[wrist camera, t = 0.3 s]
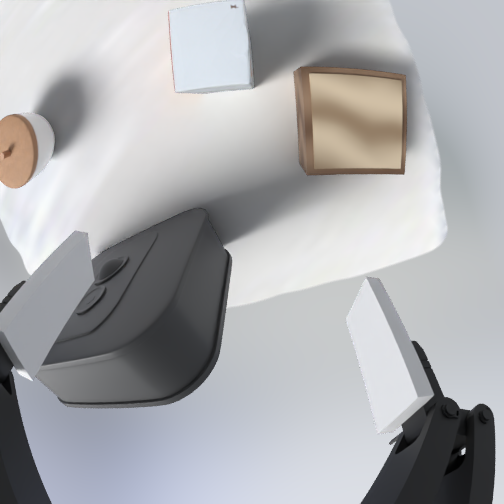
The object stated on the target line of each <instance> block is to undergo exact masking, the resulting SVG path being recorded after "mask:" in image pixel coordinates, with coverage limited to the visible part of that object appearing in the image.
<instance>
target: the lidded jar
mask: <svg viewBox="0 0 504 504" xmlns="http://www.w3.org/2000/svg"><path fill="white" fill-rule="evenodd" d="M54 145H55V135H54V131H53V129H52V127H51V125H50V124H49V122H48V121H47V120H46V119H45V118H44V117H42V116H41V115H38V114H36V113H20V114H12V115H8V116H6V117H4V118H3V119H2V120H1V121H0V181H1V182H2V183H3V184H4V185H6V186H8V187H10V188H19V187H21V186H23V185H25V184H26V183H27V182H29V181H30V180H32V179H34V178H35V177H36V176H37V175H39V174H40V173H41V172H42V171H43V170H44V169H45V167H46V166H47V164H48V163H49V161H50V159H51V157H52V154H53V150H54Z"/></svg>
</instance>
